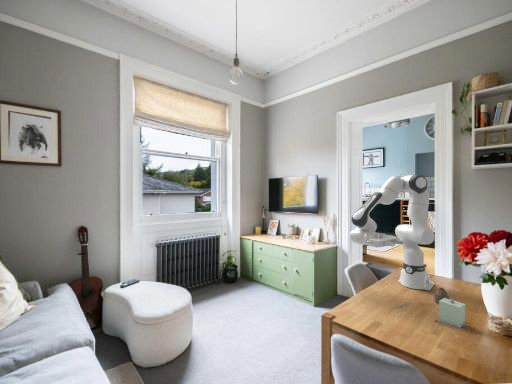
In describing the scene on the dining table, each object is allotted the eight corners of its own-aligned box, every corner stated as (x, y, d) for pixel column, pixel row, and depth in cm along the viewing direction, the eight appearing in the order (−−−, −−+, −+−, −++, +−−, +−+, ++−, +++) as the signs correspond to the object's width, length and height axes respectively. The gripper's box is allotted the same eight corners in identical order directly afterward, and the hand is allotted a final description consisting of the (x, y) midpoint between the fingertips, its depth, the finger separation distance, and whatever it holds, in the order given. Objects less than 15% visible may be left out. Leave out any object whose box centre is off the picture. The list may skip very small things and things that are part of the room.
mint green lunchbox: (444, 316, 120) (444, 295, 120) (465, 324, 113) (465, 301, 113) (438, 320, 116) (439, 298, 116) (460, 327, 110) (460, 304, 110)
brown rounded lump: (452, 308, 130) (452, 291, 130) (437, 307, 132) (437, 290, 132) (445, 302, 137) (445, 286, 137) (431, 301, 138) (431, 285, 138)
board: (444, 316, 122) (444, 314, 122) (470, 325, 114) (470, 323, 114) (433, 323, 116) (433, 320, 116) (460, 333, 107) (460, 331, 107)
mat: (407, 303, 136) (407, 302, 136) (428, 310, 128) (428, 309, 128) (396, 308, 130) (396, 307, 130) (417, 316, 122) (417, 315, 122)
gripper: (364, 236, 145) (388, 240, 133) (384, 233, 156) (407, 236, 144) (364, 247, 145) (388, 251, 133) (384, 243, 156) (407, 247, 144)
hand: (398, 243), depth 139 cm, fingers open, 8 cm apart
